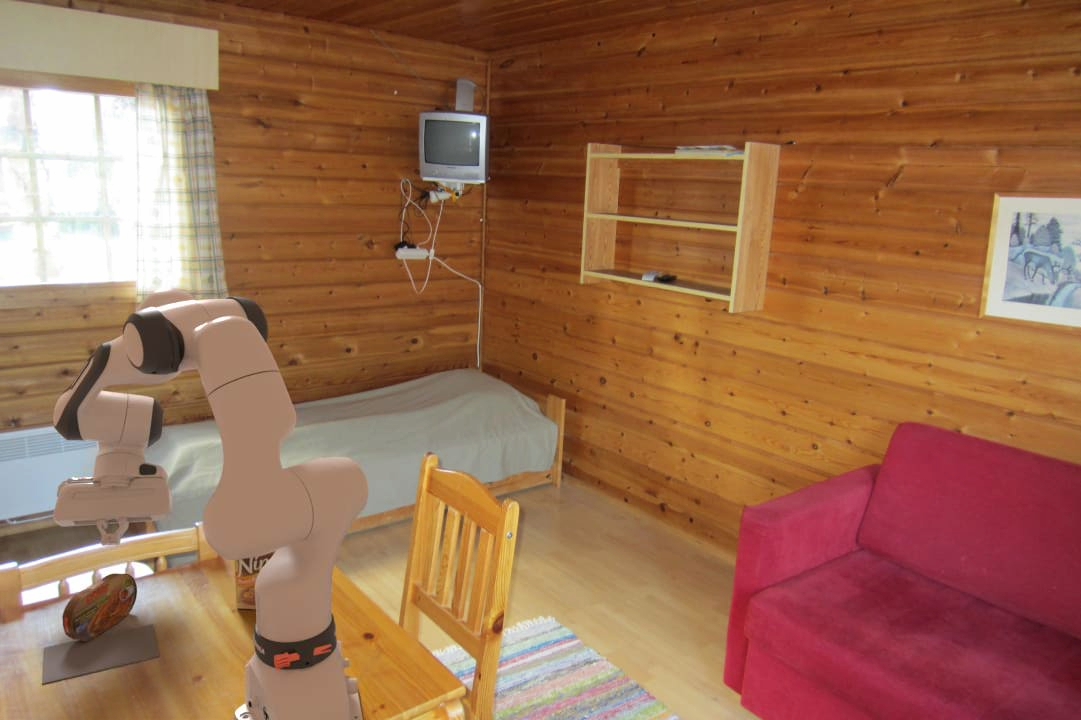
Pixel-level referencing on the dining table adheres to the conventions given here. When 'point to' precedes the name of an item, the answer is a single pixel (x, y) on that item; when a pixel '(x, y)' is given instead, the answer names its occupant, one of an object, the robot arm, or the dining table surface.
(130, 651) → the felt mat
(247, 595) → the candy box
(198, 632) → the dining table surface
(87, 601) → the tin
